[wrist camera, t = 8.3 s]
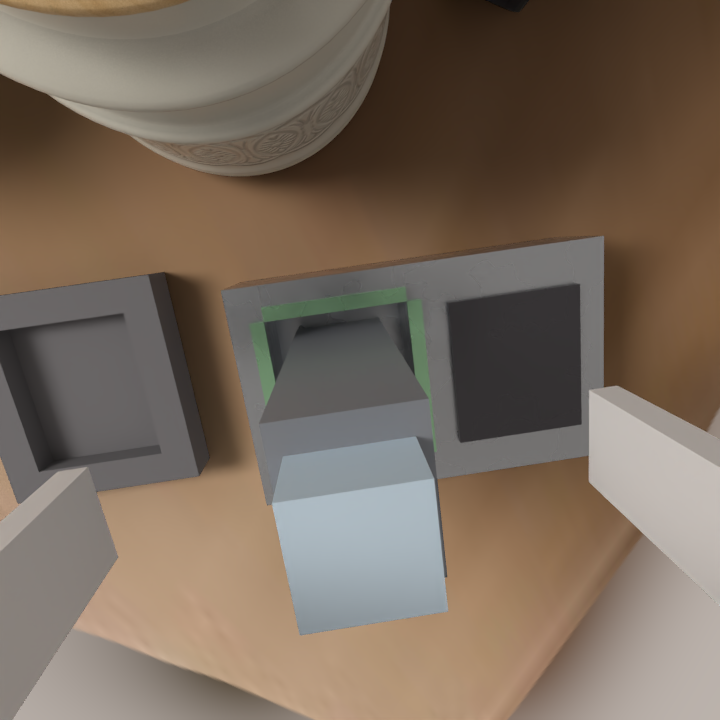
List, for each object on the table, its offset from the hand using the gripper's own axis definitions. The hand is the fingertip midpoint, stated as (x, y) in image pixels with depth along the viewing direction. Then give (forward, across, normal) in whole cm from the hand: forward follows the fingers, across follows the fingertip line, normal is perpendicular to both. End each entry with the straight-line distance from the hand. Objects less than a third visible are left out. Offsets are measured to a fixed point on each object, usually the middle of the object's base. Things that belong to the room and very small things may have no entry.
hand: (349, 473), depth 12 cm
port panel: (+12, +4, -1) cm, 13 cm away
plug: (+11, 0, -1) cm, 11 cm away
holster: (+12, -12, 0) cm, 17 cm away
